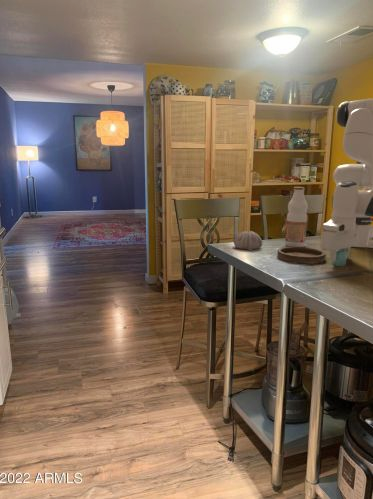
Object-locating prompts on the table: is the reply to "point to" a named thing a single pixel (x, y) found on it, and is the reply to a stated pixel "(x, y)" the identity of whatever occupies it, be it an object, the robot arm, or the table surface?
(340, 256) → the bead
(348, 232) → the robot arm
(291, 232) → the fruit juice
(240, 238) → the sea urchin shell
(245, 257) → the table surface
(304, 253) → the round tray
